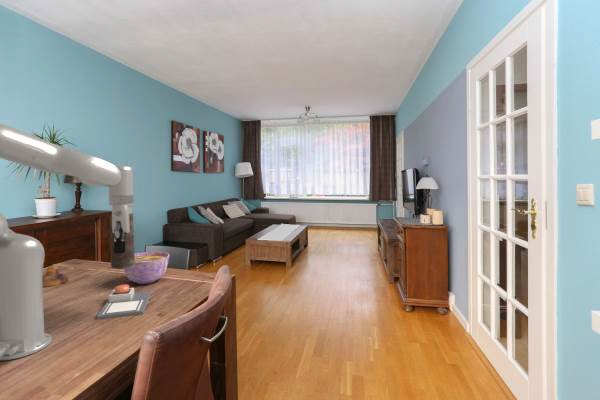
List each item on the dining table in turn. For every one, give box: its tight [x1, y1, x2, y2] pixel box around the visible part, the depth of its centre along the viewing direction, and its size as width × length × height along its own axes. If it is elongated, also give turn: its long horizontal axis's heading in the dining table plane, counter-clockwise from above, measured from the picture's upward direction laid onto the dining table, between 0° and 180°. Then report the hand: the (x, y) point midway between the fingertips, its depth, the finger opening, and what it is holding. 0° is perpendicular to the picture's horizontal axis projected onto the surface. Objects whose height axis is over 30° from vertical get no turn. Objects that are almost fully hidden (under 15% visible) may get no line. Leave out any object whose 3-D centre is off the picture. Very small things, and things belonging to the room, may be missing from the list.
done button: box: [114, 284, 130, 295], centre depth 118 cm, size 5×5×2 cm
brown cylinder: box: [109, 212, 136, 270], centre depth 108 cm, size 8×7×20 cm
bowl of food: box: [123, 251, 170, 285], centre depth 141 cm, size 20×20×12 cm
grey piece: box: [96, 287, 152, 320], centre depth 114 cm, size 20×14×4 cm
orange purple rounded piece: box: [42, 266, 70, 288], centre depth 137 cm, size 12×12×7 cm
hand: (122, 249), depth 108 cm, fingers closed on brown cylinder, 7 cm apart
